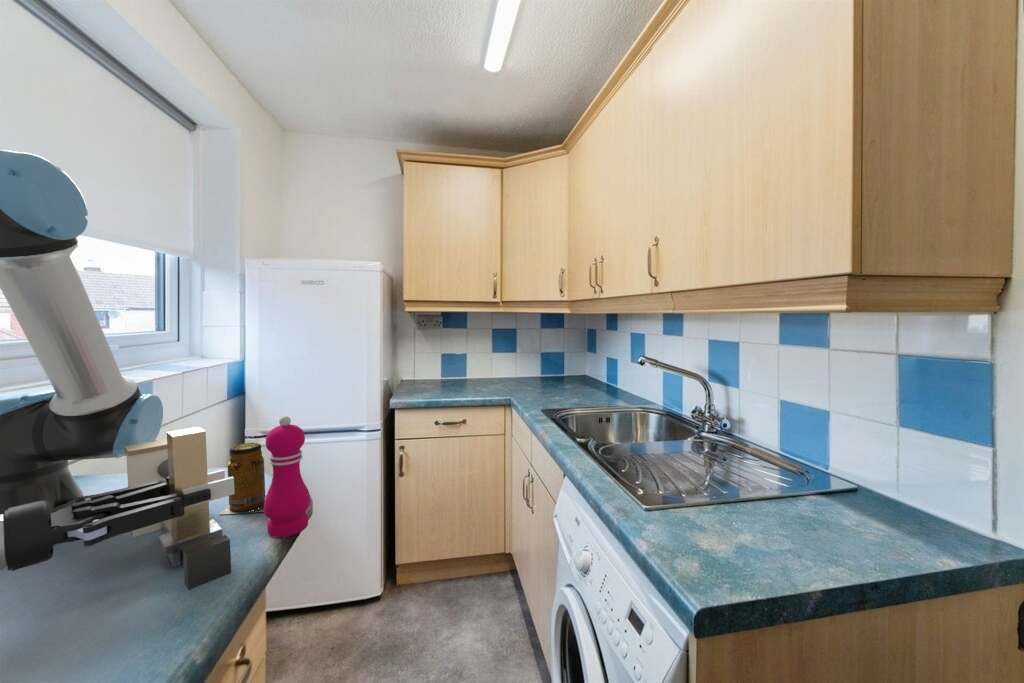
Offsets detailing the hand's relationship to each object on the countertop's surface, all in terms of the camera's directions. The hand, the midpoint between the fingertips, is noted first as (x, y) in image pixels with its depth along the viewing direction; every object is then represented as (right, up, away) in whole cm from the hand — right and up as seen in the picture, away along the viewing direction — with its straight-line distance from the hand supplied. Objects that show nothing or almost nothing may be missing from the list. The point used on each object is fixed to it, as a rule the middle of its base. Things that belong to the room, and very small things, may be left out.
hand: (228, 481), depth 67 cm
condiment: (-5, -10, +13) cm, 17 cm away
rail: (-5, -10, -2) cm, 12 cm away
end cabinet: (-15, -10, +7) cm, 19 cm away
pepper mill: (+8, -10, +4) cm, 13 cm away
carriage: (-3, -10, -4) cm, 11 cm away
